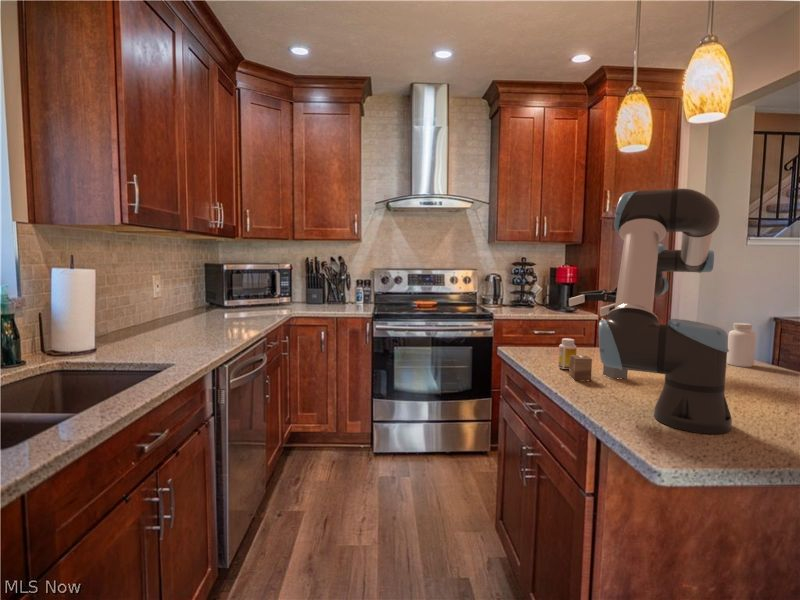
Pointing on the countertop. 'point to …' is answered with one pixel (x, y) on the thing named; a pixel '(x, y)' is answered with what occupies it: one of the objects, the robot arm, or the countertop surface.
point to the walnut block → (580, 367)
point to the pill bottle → (741, 345)
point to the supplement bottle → (566, 352)
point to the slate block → (614, 372)
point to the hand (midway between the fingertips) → (584, 307)
